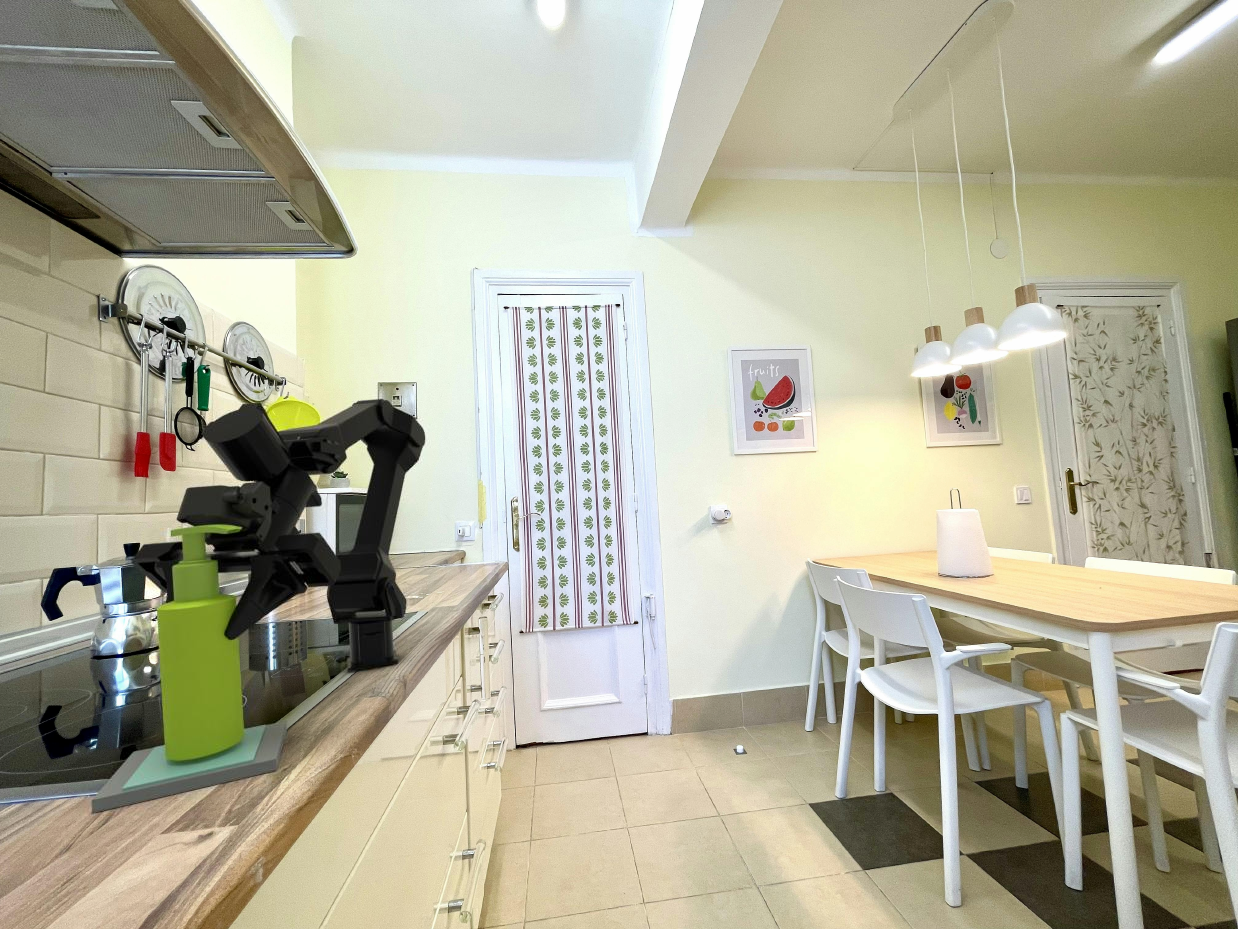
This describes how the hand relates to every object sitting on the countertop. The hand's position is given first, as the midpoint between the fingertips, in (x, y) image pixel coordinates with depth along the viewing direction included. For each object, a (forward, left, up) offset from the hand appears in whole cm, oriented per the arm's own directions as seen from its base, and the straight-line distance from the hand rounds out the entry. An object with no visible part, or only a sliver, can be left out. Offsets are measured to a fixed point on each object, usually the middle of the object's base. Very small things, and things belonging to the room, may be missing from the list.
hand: (196, 639), depth 53 cm
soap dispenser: (0, +1, -10) cm, 10 cm away
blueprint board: (0, 0, -11) cm, 11 cm away
